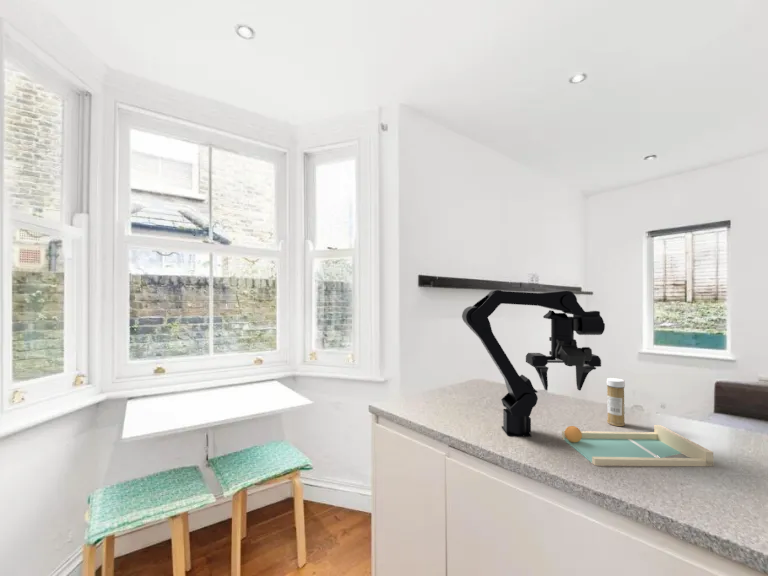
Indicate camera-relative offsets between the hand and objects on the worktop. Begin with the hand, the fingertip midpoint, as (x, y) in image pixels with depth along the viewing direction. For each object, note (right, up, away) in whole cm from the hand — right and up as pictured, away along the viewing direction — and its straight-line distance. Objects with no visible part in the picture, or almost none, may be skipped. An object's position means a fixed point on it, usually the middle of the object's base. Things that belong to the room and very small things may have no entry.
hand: (562, 389), depth 100 cm
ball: (-1, -9, -8) cm, 12 cm away
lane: (+10, -12, -12) cm, 20 cm away
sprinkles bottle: (+19, -12, +6) cm, 24 cm away
